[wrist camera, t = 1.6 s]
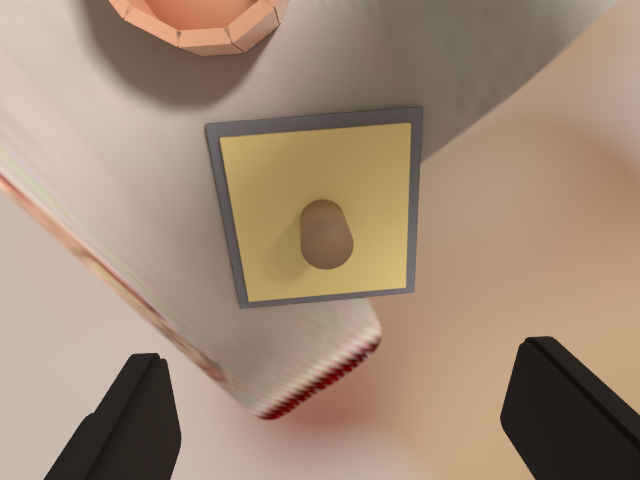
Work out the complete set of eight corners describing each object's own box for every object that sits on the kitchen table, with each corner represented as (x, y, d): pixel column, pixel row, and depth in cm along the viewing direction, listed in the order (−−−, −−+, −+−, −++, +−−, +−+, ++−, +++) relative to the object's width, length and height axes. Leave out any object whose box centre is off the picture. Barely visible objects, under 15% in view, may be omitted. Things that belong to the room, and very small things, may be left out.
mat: (420, 106, 26) (422, 107, 26) (412, 289, 32) (414, 292, 32) (206, 123, 26) (205, 124, 25) (241, 305, 32) (240, 308, 31)
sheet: (408, 122, 26) (436, 129, 21) (403, 284, 31) (424, 321, 26) (221, 137, 26) (201, 148, 20) (249, 298, 31) (240, 338, 26)
